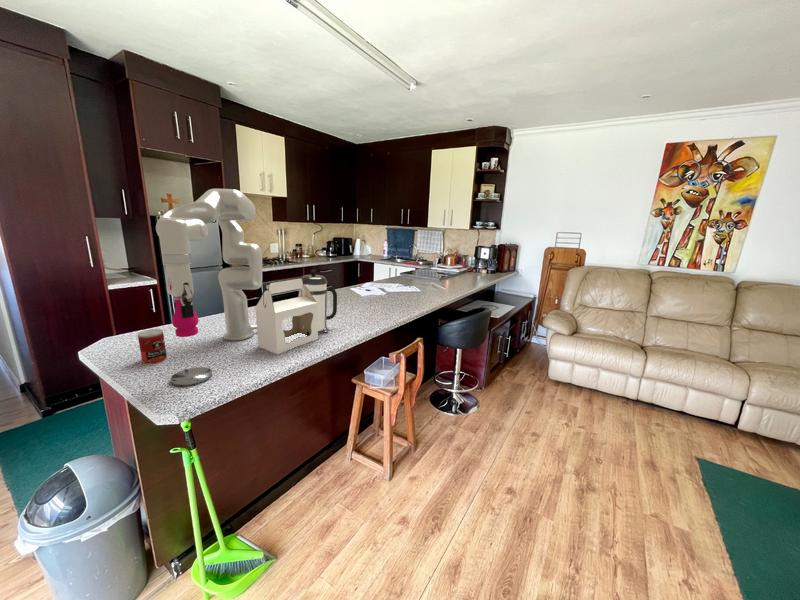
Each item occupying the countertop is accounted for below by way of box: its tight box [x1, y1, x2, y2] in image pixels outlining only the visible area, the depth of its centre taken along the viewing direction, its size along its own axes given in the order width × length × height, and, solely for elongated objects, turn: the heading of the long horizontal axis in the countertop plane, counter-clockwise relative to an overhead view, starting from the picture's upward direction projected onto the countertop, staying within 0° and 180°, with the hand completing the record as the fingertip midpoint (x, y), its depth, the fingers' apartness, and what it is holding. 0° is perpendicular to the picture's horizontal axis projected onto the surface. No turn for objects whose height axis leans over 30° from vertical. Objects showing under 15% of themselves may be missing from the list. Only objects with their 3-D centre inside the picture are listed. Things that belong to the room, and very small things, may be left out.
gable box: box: [254, 278, 319, 355], centre depth 143 cm, size 22×13×28 cm, turn 145°
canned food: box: [137, 328, 168, 365], centre depth 125 cm, size 8×8×11 cm
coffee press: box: [300, 269, 338, 336], centre depth 160 cm, size 17×16×30 cm
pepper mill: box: [170, 285, 200, 338], centre depth 107 cm, size 7×7×20 cm
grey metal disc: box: [170, 366, 213, 388], centre depth 113 cm, size 12×12×2 cm
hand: (184, 314), depth 108 cm, fingers closed on pepper mill, 5 cm apart
